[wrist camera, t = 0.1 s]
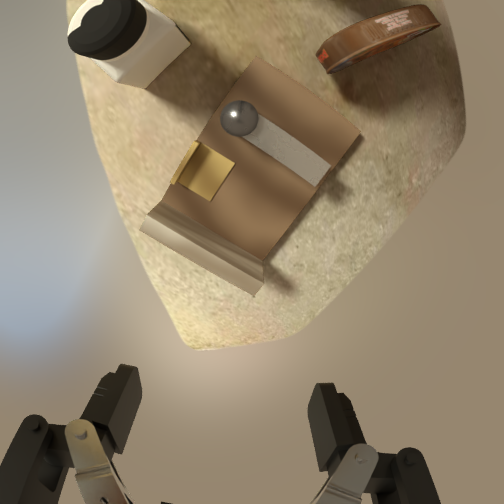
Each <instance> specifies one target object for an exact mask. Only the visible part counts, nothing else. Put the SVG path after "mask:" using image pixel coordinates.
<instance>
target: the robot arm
mask: <svg viewBox="0 0 504 504" xmlns="http://www.w3.org/2000/svg"><path fill="white" fill-rule="evenodd" d="M141 399H142V387H141V382H140V377H139V372H138V368H137V367H135V366H130V365H125V364H120V365H119V367H118V369H117V371H116V373H111V372H109V373H108V374H107V375H105V376H104V377H103V378H102V379H101V381H100V382H99V384H98V386H97V388H96V390H95V391H94V394H93V395H92V397H91V399H90V400H89V402H88V404H87V406H86V408H85V410H84V412H83V414H82V416H81V417H80V419H76V420H73V421H71V422H69V423H68V424H67V425H56V424H48V423H47V421H46V419H45V418H43V417H42V416H40V415H29V416H27V417H26V418H25V419H24V420H23V422H22V423H21V425H20V427H19V429H18V431H17V433H16V435H15V437H14V439H13V441H12V443H11V444H10V447H9V449H8V450H7V453H6V455H5V457H4V459H3V461H2V463H1V466H0V504H58V501H59V497H60V494H61V490H62V488H63V484H64V481H65V478H66V475H67V472H68V469H69V467H71V468H75V469H76V472H77V474H76V475H75V478H76V481H77V484H78V487H79V489H80V492H81V494H82V497H83V499H84V501H85V503H86V504H136V503H135V502H134V500H133V499H132V497H131V496H130V494H129V492H128V490H127V489H126V487H125V485H124V483H123V481H122V479H121V477H120V475H119V473H118V471H117V469H116V467H115V465H114V463H113V460H112V457H113V454H114V452H115V453H118V454H122V453H123V450H124V447H125V444H126V441H127V438H128V435H129V433H130V430H131V427H132V424H133V421H134V419H135V416H136V413H137V410H138V408H139V405H140V402H141ZM308 419H309V423H310V428H311V433H312V437H313V442H314V447H315V451H316V457H317V462H318V466H319V471H320V472H323V471H328V475H329V477H328V478H327V480H326V481H325V483H324V484H323V486H322V487H321V489H320V490H319V492H318V493H317V495H316V496H315V497H314V499H313V500H312V501H311V503H310V504H361V500H362V499H361V495H362V493H371V498H372V502H373V504H441V503H440V500H439V497H438V494H437V491H436V488H435V485H434V483H433V480H432V477H431V475H430V472H429V469H428V467H427V464H426V462H425V459H424V457H423V455H422V453H421V452H420V451H419V450H417V449H415V448H411V447H409V448H404V449H402V450H400V451H399V452H398V454H388V453H379V452H376V450H375V449H374V448H373V447H372V446H370V445H367V443H366V441H365V439H364V436H363V433H362V431H361V428H360V425H359V422H358V420H357V418H356V414H355V411H353V406H352V404H351V401H350V400H349V398H348V397H347V396H346V395H345V394H344V393H337V391H336V388H335V385H334V383H317V384H316V385H315V388H314V390H313V393H312V396H311V399H310V402H309V404H308ZM161 504H171V503H165V502H161Z"/></svg>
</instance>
